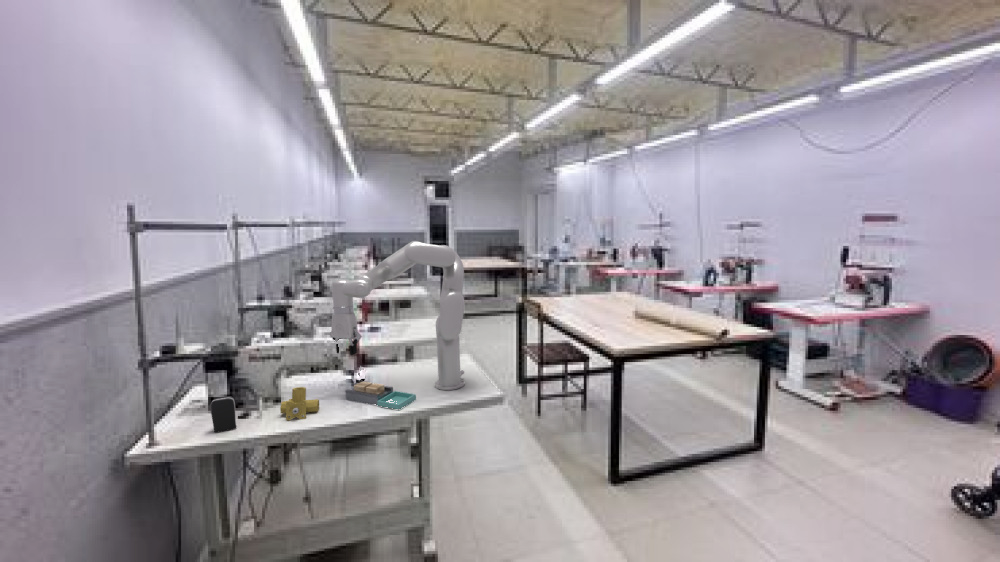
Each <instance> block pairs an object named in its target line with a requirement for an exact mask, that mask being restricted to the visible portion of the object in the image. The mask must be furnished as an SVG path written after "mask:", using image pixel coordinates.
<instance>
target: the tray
mask: <svg viewBox="0 0 1000 562" xmlns="http://www.w3.org/2000/svg"><path fill="white" fill-rule="evenodd" d="M390 399H392V400H393V401H390V402H394V401H395V402H394V403H389V402H386V401H388V400H390ZM414 400H415V401H416V400H417V395H416V394H415V393H410V392H409V393H408V392H403V391H397V390H393V392H392V393H391V394H389V395H387V396H385V397H384V398H382V399H380V400H378V401H377V405H378V406H382V407H388V408H393V409H401V408H402V407H404V406H405V407H406V405H407V404H408V405H410V404H411V402H412V401H413V402H415V401H414ZM396 401H397V402H396ZM413 402H412V403H413ZM396 403H397V404H396ZM409 403H410V404H409ZM377 405H376V406H377ZM408 405H407V406H408ZM378 406H377V407H378ZM382 407H381V408H382ZM405 407H404V408H405ZM388 408H387V409H388ZM393 409H392V410H393ZM402 409H403V408H402ZM402 409H401V410H402Z"/></svg>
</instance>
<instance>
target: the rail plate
mask: <svg viewBox="0 0 1000 562" xmlns="http://www.w3.org/2000/svg"><path fill="white" fill-rule="evenodd" d="M344 391H345V400H346V401H351V402H357V403H361V404H366V403H368V405H372V404H376V405H375V406H377V401H378V400H380V399H382V398H384V397H385V396H387V395H389V394H391V393H392V392H394V387H393V386H387V385H384V391H383V392H381V393H379V394H373V393H367V392H361V391H356V390H354V388H352V389H350V388H348V389H345V390H344Z"/></svg>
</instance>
